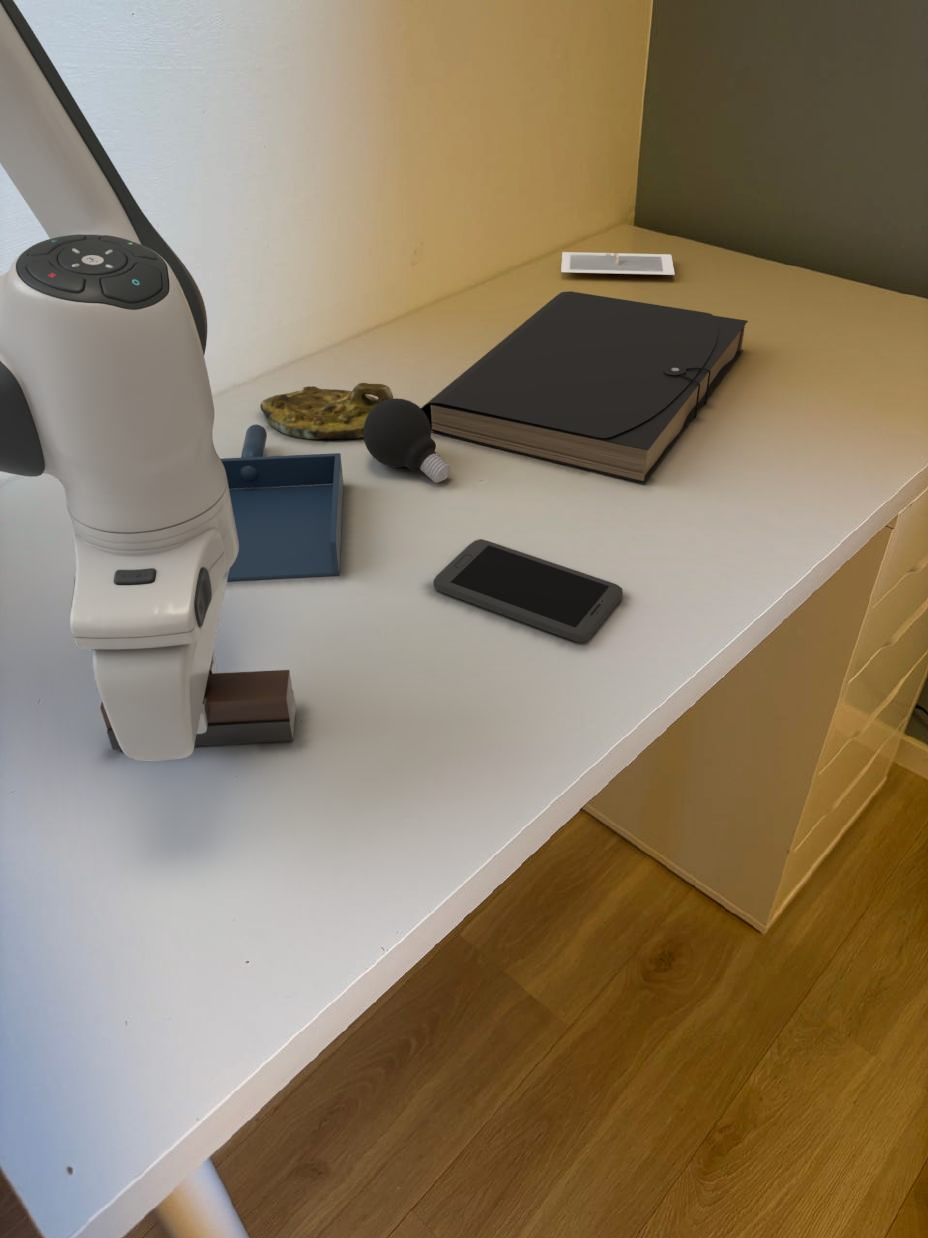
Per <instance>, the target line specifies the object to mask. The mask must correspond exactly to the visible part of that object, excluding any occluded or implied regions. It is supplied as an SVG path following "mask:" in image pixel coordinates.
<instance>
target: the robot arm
mask: <svg viewBox="0 0 928 1238" xmlns="http://www.w3.org/2000/svg"><path fill="white" fill-rule="evenodd" d="M76 101H77V100H76V99H75V98H74V96H73V95H72V93H71V91H70V89H69V88H68V86H67V85H66V82H65V81H64V80H63V78H62V77H61V74H60V73H59V71H58V70H57V68H56V66H55V65H54V64H53V61H52V60H51V58H50V57H49V55H48V53H47V51H46V50H45V48H44V47H43V45H42V43H41V42H40V40H39V38H38V37H37V35H36V34H35V31H33V29H32V28H31V26H30V24H29V23H28V20H26V18H25V16H24V14H23V13H22V12H21V10H20V8H19V7H18V5H17V4H16V2H15V1H14V0H0V165H1V167H2V168H3V170H4V171H5V173H6V174H7V175H8V177H9V179H10V180H11V182H12V183H13V185H14V186H15V187H16V189H17V191H18V193H19V194H20V195H21V197H22V198H23V200H24V201H25V202H26V204H27V207H28V208H29V209H30V211H31V212H32V213H33V215H34V217H35V218H36V219H37V221H38V223H39V224H40V226H41V227H42V228H43V230H44V231H45V233H46V234H47V236H48V239H44V240H42V241H40V242H39V241H38V242H36V243H35V244H33V245H31V246H30V247H28V248H27V249H25V250H24V251H22V252H21V253H20V254H19V255H18V256H16V258H15V259H14V261H13V262H12V263H11V265H10V267H9V269H8V271H6V272H5V273H3V274H2V275H0V472H3V473H5V474H11V475H16V476H23V477H30V478H31V477H33V478H35V477H39V476H42V475H43V474H44V475H50V476H52V477H54V478H55V479H57V480H58V481H59V482H60V484H61V485H62V487H63V488H64V490H63V491H64V495H65V504H66V505H65V506H66V509H67V512H68V514H69V519H70V521H71V526H72V528H73V531H74V535H73V538H72V544H73V545H72V546H73V549H74V558H75V561H74V562H75V576H74V580H73V591H72V598H71V606H70V615H69V627H70V631H71V634H72V638H73V640H74V642H75V645H76V647H77V648H79V649H82V650H92V655H91V658H92V660H91V661H92V670H93V675H94V680H95V683H96V688H97V691H98V693H99V696H100V699H101V703H102V702H103V705H104V708H105V711H106V713H107V716H108V719H109V721H110V724H111V726H112V729H113V731H114V734H115V736H116V738H117V741H118V743H119V745H120V747H121V749H122V750H121V751H122V752H123V754H124V755H125V756H127V757H128V758H130V759H133V760H135V761H140V762H156V761H157V762H159V761H171V760H180V759H186V758H189V757H190V756H191V755H192V754H193V752H194V750H195V747H196V746H195V739H196V734H202V733H205V732H206V730H207V726H208V721H209V715H210V714H209V710H208V705H207V700H206V699H204V694H205V689H206V684H207V679H208V674H214V673H219V670H218V665H217V661H216V638H217V634H218V629H219V623H220V619H221V614H222V609H223V605H224V599H225V594H226V588H227V585H228V581H227V579H228V574H229V570H230V567H231V566H232V565H233V563H234V562H235V560H236V558H237V555H238V551H239V541H238V535H237V530H236V524H235V519H234V513H233V509H232V503H231V498H230V492H229V486H228V480H227V476H226V471H225V468H224V466H223V464H222V462H221V459H222V458H220V456H219V454H218V452H217V451H216V447H215V445H214V439H213V436H214V435H213V429H214V423H215V405H214V399H213V398H214V397H213V392H212V387H211V382H210V376H209V373H208V368H207V363H206V359H205V354H206V349H207V342H208V316H207V309H206V305H205V302H204V298H203V295H202V293H201V290H200V288H199V286H198V284H197V283H196V281H195V279H194V276H193V275H192V274H191V272H190V271H189V270H188V268H187V267H186V265H185V264H184V263H183V261H182V260H181V259H180V257H179V256H178V255H177V254H176V252H175V251H174V250H173V249H172V247H171V246H170V245H169V244H168V243H167V241H165V239H164V238H163V237H162V235H161V234H160V233H159V232H158V231H157V229H156V228H155V227H154V226H153V224H152V223H151V222H150V220H149V219H148V218H147V216H146V215H145V213H144V212H143V210H142V209H141V207H140V205H139V204H138V202H137V201H136V199H135V197H134V196H133V194H132V193H131V191H130V189H129V188H128V186H127V184H126V183H125V181H124V179H123V178H122V176H121V174H120V173H119V172H118V170H117V168H116V166H115V165H114V163H113V161H112V160H111V158H110V156H109V155H108V153H107V151H106V149H105V148H104V145H102V143H101V141H100V139H99V138H98V137H97V135H96V133H95V132H94V130H93V128H92V126H91V125H90V123H89V121H88V120H87V118H86V116H85V114H84V113H83V111H82V109H81V108H80V107H79V105H78V103H77V102H76Z"/></svg>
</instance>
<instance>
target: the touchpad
mask: <svg viewBox="0 0 928 1238" xmlns="http://www.w3.org/2000/svg"><path fill="white" fill-rule="evenodd" d="M561 252H562V253H561V254H562V256H561V265H560V266H561V267H560V273H572V274H573V273H576V274H577V273H578V274H619V275H623V274H624V275H658V276H659V275H660V276H661V275H663V276H665V275H666V276H675V275H676V274H675V268H674V263H673V257H672V254H668V253H625V252H622V253H619V252H579V251H578V252H575V251H573V252H572V251H571V252H570V251H561Z"/></svg>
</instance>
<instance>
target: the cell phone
mask: <svg viewBox="0 0 928 1238" xmlns="http://www.w3.org/2000/svg"><path fill="white" fill-rule="evenodd" d="M432 582H433V588H434V589H435V590H436V591H438V592H441V593H443V594H445V595H448V596H451V597H454V598H456V599H459V600H463V601H464V602H467V603H470V604H472V605H476V606H477V607H481V608H483V609H487V610H489V611H491V612H495V613H497V614H500V615H502V616H505V617H507V618H511V619H514V620H516V621H519V622H521V623H525V624H527V625H530V626H532V627H535V628H538V629H541V630H543V631H546V632H548V633H551V634H554V635H556V636H559V637H562V638H565V639H567V640H570V641H573V642H576V643H578V642H579V643H581V642H582V643H584V642H586V641H587V640H588V639H590V638H591V637H592V636H593V635H594V633H595V632H596V631H597V630H598V628H599V627H600V626H601V625H602V624H603V622H604V621H605V619H606V618H607V617H608V616H609V615H610V613H611V612H612V611H613V610H614V608H615V607H616V606H617V604H618V603H619V602H620V601H621V599H622V598H623V591H624V590H623V588H622V587H621V586H619V585H618V584H617V583H614V582H611V581H608V580H605V579H602V578H599V577H596V576H595V575H594V576H593V575H591V574H588V573H584V572H581V571H578V570H575V569H573V568H570V567H566V566H563V565H561V564H559V563H554V562H553V561H552V562H551V561H549V560H545V559H543V558H540V557H537V556H535V555H531V554H528V553H525V552H522V551H519V550H516V549H513V548H510V547H507V546H504V545H501V544H499V543H495V542H492V541H489V540H486V539H482V538H479V539H475V540H473V541H472V542H471V543H470V544H468V545H467V546H466V547H465V548H464V549H463V550H461V552H460V553H459V554H458V555H456V556H455V557H454V558H453V560H452V561H450V562H449V563H448V564H447V565H446V566H445V567H444V568H443V569H442V570H441V571H440V572H439V573H438V574H437V575H435V577H434V579H433V581H432Z"/></svg>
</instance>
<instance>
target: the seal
mask: <svg viewBox="0 0 928 1238" xmlns="http://www.w3.org/2000/svg"><path fill="white" fill-rule="evenodd" d="M376 397H377V398H376ZM389 399H394V394H393V392H392V390H391V388H390V387H389V386H388V385H386V384H383V383H368V382H358V383H357V384H356V385H354V386H353V389H352V390H348V389H347V390H346V389H335V388H334V389H330V388H319V387H317V386H310V385H307V386H303V388H302V390H296V391H293V392H288V393H281V394H275V395H272V396H269V397H268V398H265V399H263V400H262V401H261V402H260V405H259V406H260V410H261V412H262V413H263V414H264V415H265V417H266V418H267V421H268V424H269V425H270V426H271V427H272V428H273V429H276V430H277V431H278V432H280V433H283V434H285V435H288V436H290V437H294V438H299V439H308V440H322V439H323V440H326V439H329V440H330V439H331V440H332V439H333V440H334V439H337V440H345V439H360V438H364V435H363V430H364V424H365V420H366V418H367V416H368V414H369V413H370V411H371V410H372V409H373V408H374V407H375V406H376V405H378V404H379V403H381V402H383V401H385V400H389Z"/></svg>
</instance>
